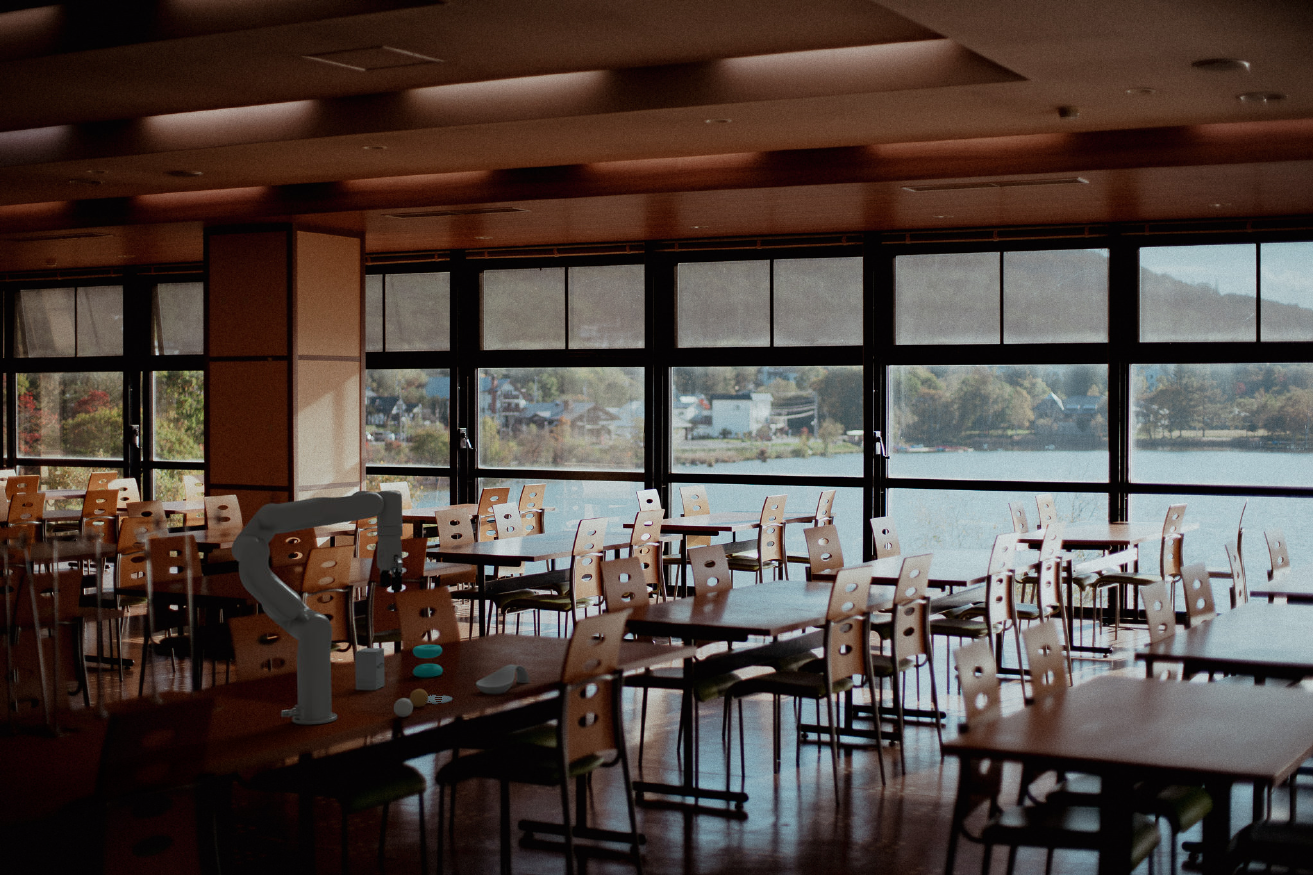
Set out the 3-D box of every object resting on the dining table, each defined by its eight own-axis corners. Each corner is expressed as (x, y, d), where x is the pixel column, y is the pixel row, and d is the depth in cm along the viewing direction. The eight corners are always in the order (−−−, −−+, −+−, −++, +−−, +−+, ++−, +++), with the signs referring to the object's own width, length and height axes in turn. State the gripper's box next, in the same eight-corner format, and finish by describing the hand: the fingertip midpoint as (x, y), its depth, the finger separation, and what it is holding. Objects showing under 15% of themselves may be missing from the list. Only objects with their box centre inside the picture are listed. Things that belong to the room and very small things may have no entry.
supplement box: (376, 690, 434) (375, 651, 434) (355, 690, 436) (354, 651, 436) (385, 686, 442) (384, 647, 442) (364, 685, 443) (363, 647, 443)
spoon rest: (501, 698, 420) (500, 675, 420) (469, 695, 425) (468, 673, 425) (538, 684, 442) (538, 662, 442) (507, 682, 446) (507, 660, 446)
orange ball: (413, 709, 403) (413, 691, 403) (407, 706, 408) (406, 688, 408) (431, 707, 406) (430, 689, 406) (424, 704, 411) (424, 686, 411)
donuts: (421, 643, 466) (447, 644, 463) (422, 672, 466) (447, 673, 463) (407, 648, 457) (433, 649, 453) (407, 677, 457) (434, 678, 454)
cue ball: (397, 719, 390) (397, 700, 389) (391, 716, 394) (390, 697, 394) (415, 717, 392) (415, 698, 392) (409, 714, 397) (408, 695, 397)
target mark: (416, 706, 407) (416, 706, 407) (400, 699, 419) (400, 698, 419) (459, 701, 415) (459, 700, 415) (442, 693, 427) (442, 693, 427)
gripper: (368, 530, 408) (369, 586, 408) (387, 534, 393) (389, 592, 393) (391, 529, 412) (393, 584, 412) (412, 532, 397) (413, 590, 397)
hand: (391, 588), depth 403 cm, fingers open, 9 cm apart
